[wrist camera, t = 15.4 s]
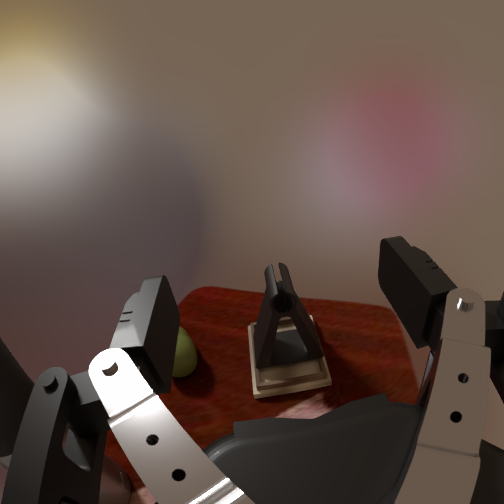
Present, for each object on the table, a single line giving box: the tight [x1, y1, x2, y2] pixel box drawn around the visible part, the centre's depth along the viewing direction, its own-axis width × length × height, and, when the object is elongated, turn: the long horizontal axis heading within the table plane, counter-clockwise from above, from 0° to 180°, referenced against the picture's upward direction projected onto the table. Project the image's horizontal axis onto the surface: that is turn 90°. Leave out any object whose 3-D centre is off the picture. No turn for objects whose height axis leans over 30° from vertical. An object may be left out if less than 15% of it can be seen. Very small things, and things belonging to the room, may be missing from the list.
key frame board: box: [248, 313, 332, 398], centre depth 42 cm, size 10×13×2 cm
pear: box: [172, 327, 197, 377], centre depth 44 cm, size 6×5×10 cm
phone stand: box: [253, 263, 324, 369], centre depth 38 cm, size 9×6×12 cm, turn 93°
